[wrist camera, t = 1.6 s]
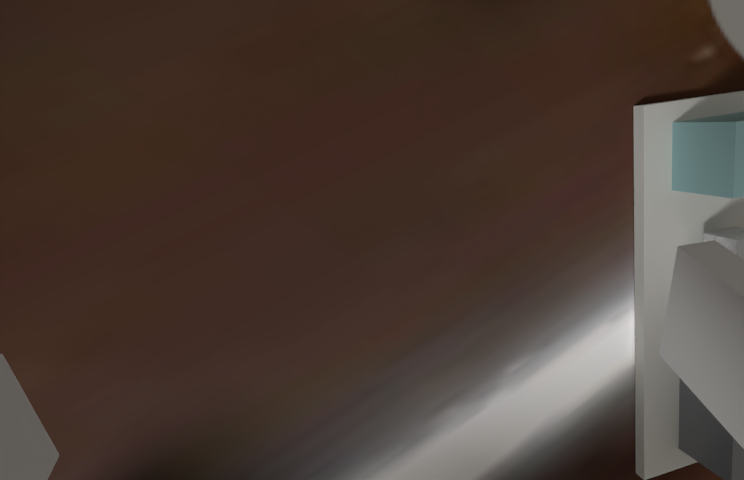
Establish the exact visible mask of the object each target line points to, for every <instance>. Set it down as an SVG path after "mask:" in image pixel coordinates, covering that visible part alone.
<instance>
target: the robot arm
mask: <svg viewBox="0 0 744 480" xmlns="http://www.w3.org/2000/svg"><path fill="white" fill-rule="evenodd" d="M659 355H660V356H661V357H662V358H663V359H664V361H665V362H666V363H667V364H668V365H669V366H670V367H671V368H672V370H673V371H674V372H675V373H676V374H677V375H678V376H679V377H680V378H681V380H682V381H683V382H684V383H685V384H686V385H687V386H688V387H689V389H690V390H691V391H692V392H693V393H694V394H695V395H696V396H697V398H698V399H699V400H700V401H701V402H702V403H703V404H704V405H705V406H706V408H707V409H708V410H709V411H710V412H711V413H712V414H713V415H714V417H715V418H716V419H717V420H718V421H719V422H720V423H721V424H722V426H723V427H724V428H725V429H726V430H727V431H728V432H729V433H730V434H731V436H732V437H733V438H734V439H735V440H736V441H737V442H738V443H739V445H740V446H741V447H742V448H743V449H744V260H743V259H742V258H740V257H739V256H737V255H736V254H734V253H733V252H731V251H730V250H728V249H727V248H726V247H724V246H723V245H721V244H720V243H718V242H717V241H715V240H713V241H707V242H700V243H694V244H688V245H681V246H678V247H677V253H676V259H675V264H674V270H673V276H672V282H671V287H670V293H669V299H668V305H667V311H666V316H665V322H664V328H663V334H662V339H661V345H660V351H659ZM58 457H59V453H58V452H57V450H56V448H55V446H54V445H53V443H52V441H51V439H50V437H49V436H48V434H47V432H46V430H45V429H44V427H43V425H42V423H41V421H40V420H39V418H38V416H37V414H36V413H35V411H34V409H33V407H32V406H31V404H30V402H29V400H28V398H27V397H26V395H25V393H24V391H23V390H22V388H21V386H20V384H19V383H18V381H17V379H16V377H15V375H14V374H13V372H12V370H11V368H10V367H9V365H8V363H7V361H6V359H5V358H4V356H3V354H0V480H47V479H48V477H49V475H50V473H51V471H52V469H53V467H54V465H55V463H56V461H57V459H58Z"/></svg>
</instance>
